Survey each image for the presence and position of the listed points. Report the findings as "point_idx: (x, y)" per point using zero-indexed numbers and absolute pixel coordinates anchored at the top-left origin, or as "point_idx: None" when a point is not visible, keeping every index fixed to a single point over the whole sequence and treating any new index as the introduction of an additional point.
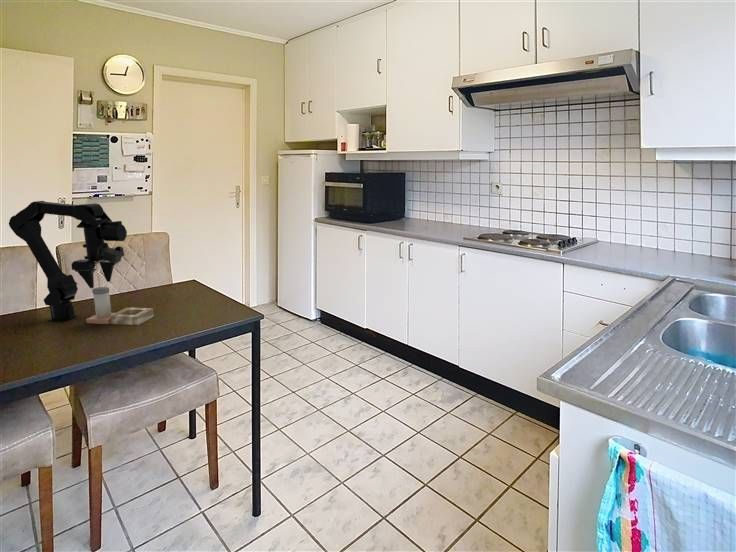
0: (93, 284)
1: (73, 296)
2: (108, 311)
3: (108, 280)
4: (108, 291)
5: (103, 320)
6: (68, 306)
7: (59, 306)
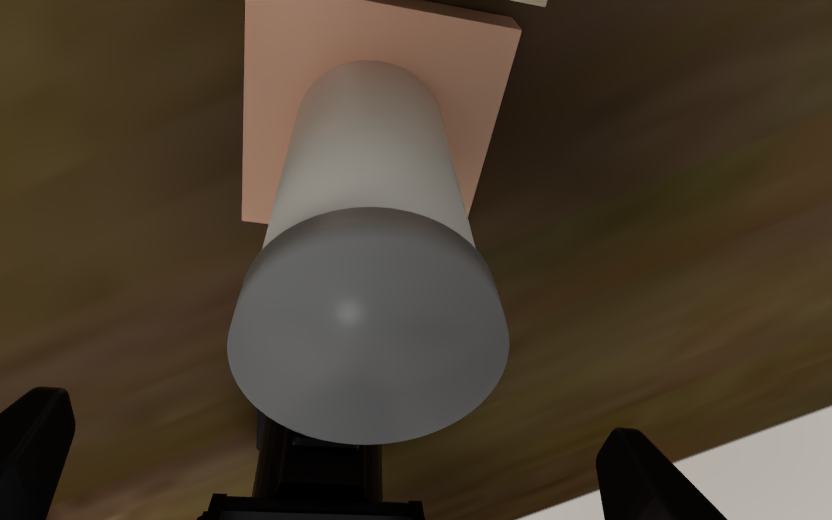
0: (662, 481)
1: (220, 517)
2: (404, 90)
3: (57, 423)
4: (371, 214)
5: (506, 79)
6: (332, 453)
7: (379, 492)
